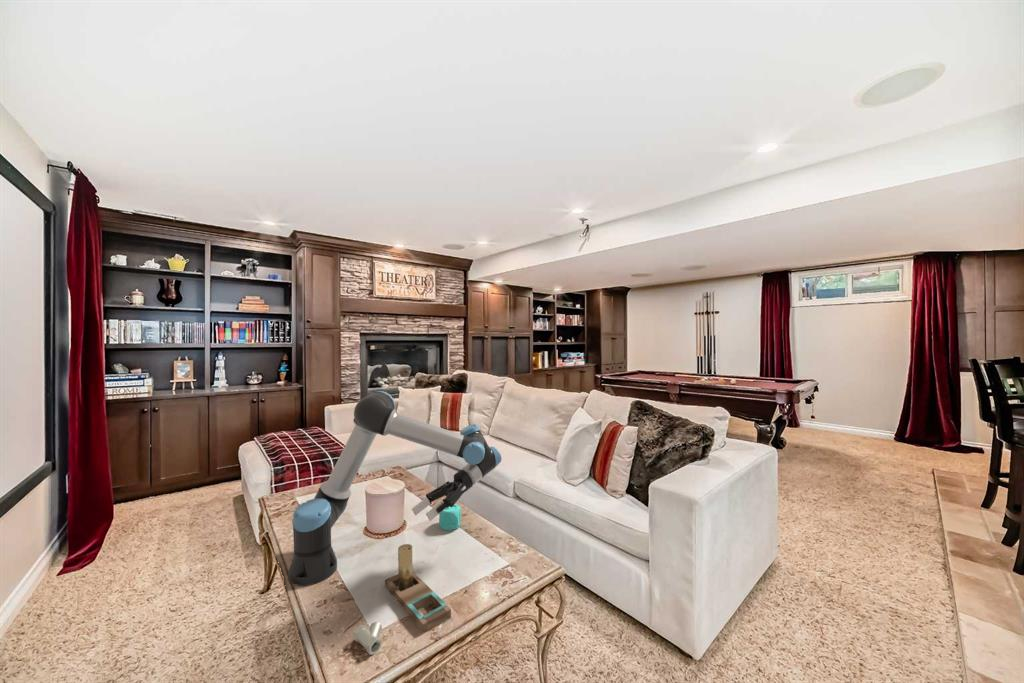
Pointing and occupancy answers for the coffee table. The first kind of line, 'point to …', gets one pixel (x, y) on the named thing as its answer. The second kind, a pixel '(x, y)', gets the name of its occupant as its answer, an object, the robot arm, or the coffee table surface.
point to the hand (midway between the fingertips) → (420, 514)
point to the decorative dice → (450, 518)
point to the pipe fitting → (369, 637)
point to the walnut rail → (419, 602)
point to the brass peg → (405, 567)
